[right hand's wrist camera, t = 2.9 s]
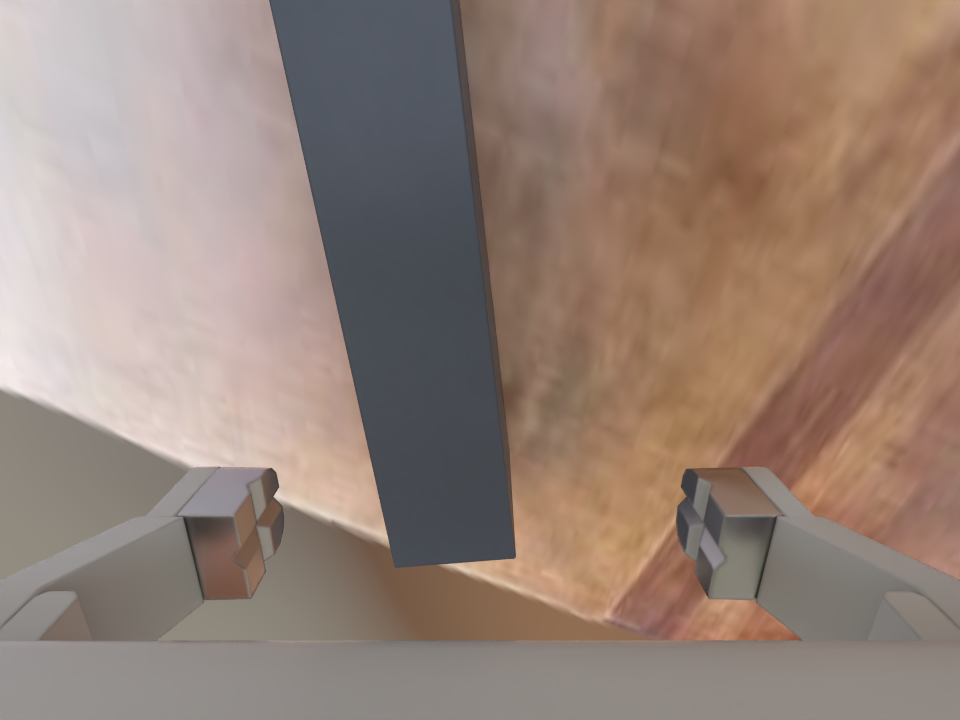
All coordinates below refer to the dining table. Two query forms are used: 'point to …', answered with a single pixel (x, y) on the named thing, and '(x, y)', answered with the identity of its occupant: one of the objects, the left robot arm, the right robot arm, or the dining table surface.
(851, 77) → the dining table surface
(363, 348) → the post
